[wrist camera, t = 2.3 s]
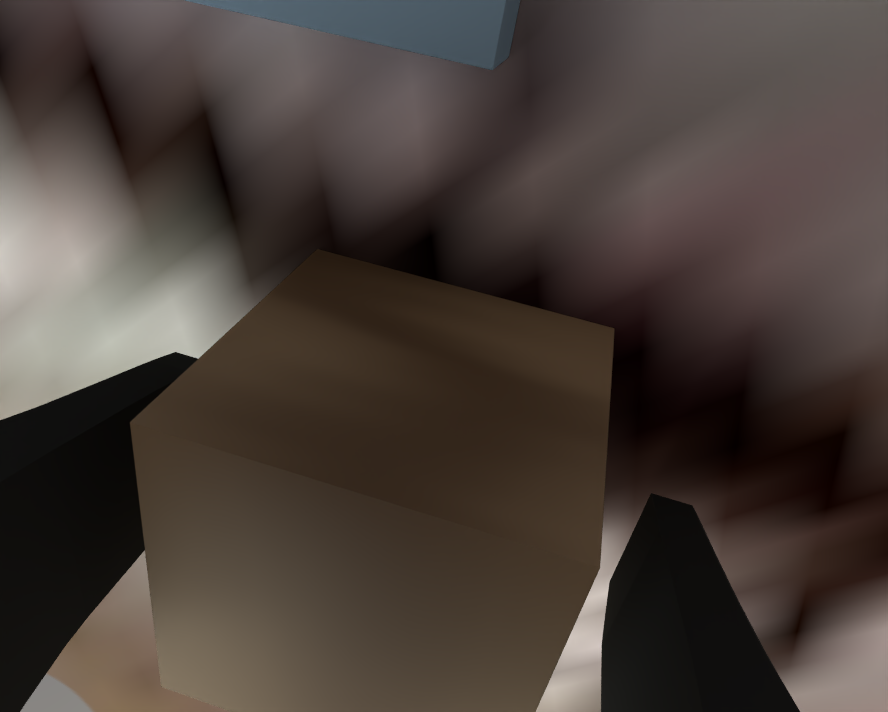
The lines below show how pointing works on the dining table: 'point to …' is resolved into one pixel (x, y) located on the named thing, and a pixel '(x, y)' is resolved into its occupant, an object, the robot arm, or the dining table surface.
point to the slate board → (402, 23)
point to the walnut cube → (375, 497)
